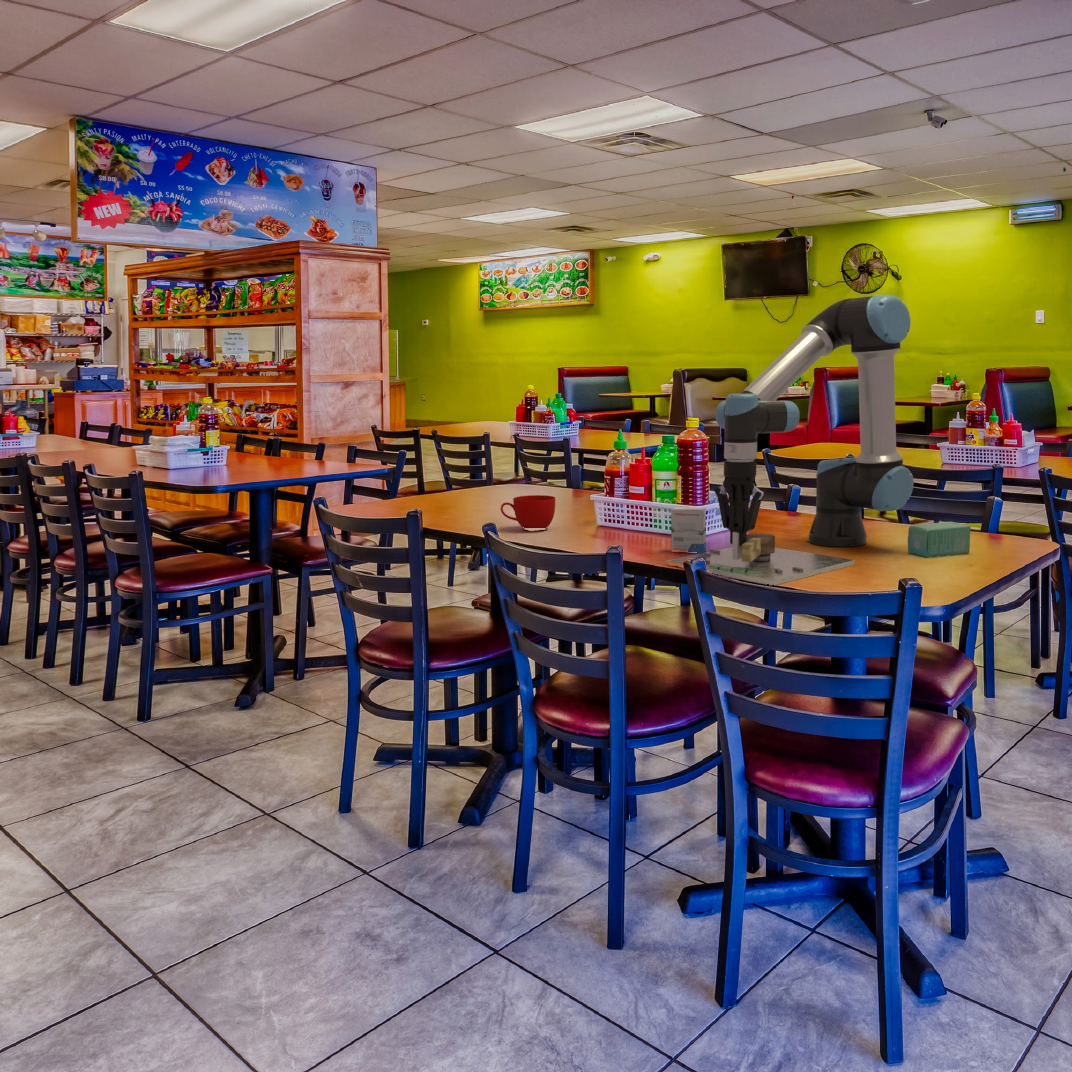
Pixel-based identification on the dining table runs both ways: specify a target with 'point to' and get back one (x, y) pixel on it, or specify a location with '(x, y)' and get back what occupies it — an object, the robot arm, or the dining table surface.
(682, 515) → the ink box
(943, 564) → the dining table surface
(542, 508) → the ceramic cup
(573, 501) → the dining table surface
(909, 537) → the box
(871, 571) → the dining table surface
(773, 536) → the dial
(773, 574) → the tuner plate
